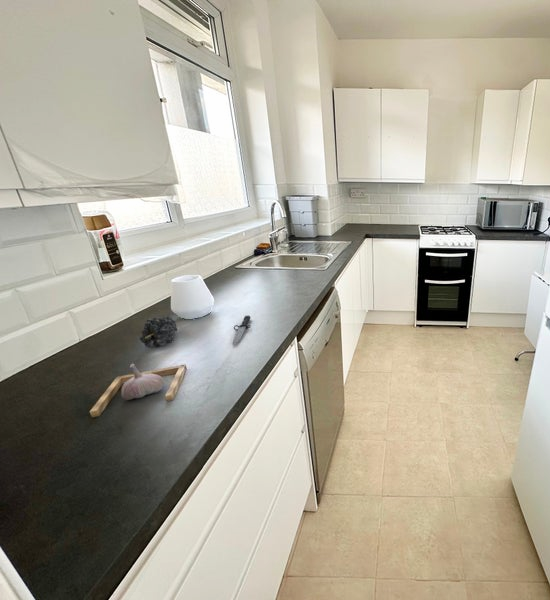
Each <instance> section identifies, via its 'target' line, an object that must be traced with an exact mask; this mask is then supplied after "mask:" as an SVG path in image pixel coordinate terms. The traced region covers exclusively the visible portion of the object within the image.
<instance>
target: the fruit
mask: <svg viewBox="0 0 550 600" xmlns="http://www.w3.org/2000/svg"><path fill="white" fill-rule="evenodd" d="M177 331H178V328H177V324H176V321H175V320H174V319H173V317H172V316H168V315H167V316H163V317H160V316H159V317H153V319H152V318H148V319H147V320H146V322H145V323H144V325H143V329H142V330H141V335H140V336H139V341H141V343H142V344H144V346H145V347H146V348H151V347H152V346H156V347H163V346H165V345H166V344H167V343H173V342H174V340H175V338H174V336H175V334H176V332H177ZM172 341H173V342H172ZM160 345H161V346H160Z"/></svg>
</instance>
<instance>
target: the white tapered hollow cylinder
mask: <svg viewBox="0 0 550 600" xmlns="http://www.w3.org/2000/svg"><path fill="white" fill-rule="evenodd" d="M214 306H215V298H214V296H213V295H212V293H211V291H210V289H209V288H208V286H207V285H206V283H205V281H204V279H203V277H202V276H201V275H199V274H187V275H180V276H177V277H174V278H173V279H171V281H170V310H171V311H172V313H174V314H175V315H177V316H178V317H179V318H181V319H182V318H185V319H190V318H198V317H201V316H204V315H206V314H208V313H210V312H211V313H212V310H213V309H214ZM211 313H210V314H211Z"/></svg>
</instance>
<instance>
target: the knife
mask: <svg viewBox="0 0 550 600" xmlns="http://www.w3.org/2000/svg"><path fill="white" fill-rule="evenodd" d="M250 321H251V315H244V317H243V320H242V322H241V324H239V325H237V324H235V325H234V326H233V329H234V331H236V333H234V336H233V340H232V344H231V346H235V345H236V344H237V343H239V341H240V340H241V338H242V336H243V334H244V332H245V331H246V330H247V329H250V328H251V327H252V326H251V325H250V324H248V323H249V322H250ZM236 327H237V328H236Z"/></svg>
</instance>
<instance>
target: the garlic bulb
mask: <svg viewBox="0 0 550 600" xmlns="http://www.w3.org/2000/svg"><path fill="white" fill-rule="evenodd" d="M129 369H130V371H131V372H132V374H134V377H132V378H131V379H130V380H128V381H126V382H125V383H123V384H122V385H121V398H122V399H124V400H126V401H131V400H133V399H141V398H144V397H145V396H146V395H150V394H155V393H158V392H160V391H161V390H162V388H163V386H164V384H165V380H164V378H163V376H159V375H156V374H152V373H149V374H142V375H141V372H140V370H139V368H137V366H136V364H135V363H131V364H130V365H129Z"/></svg>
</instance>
